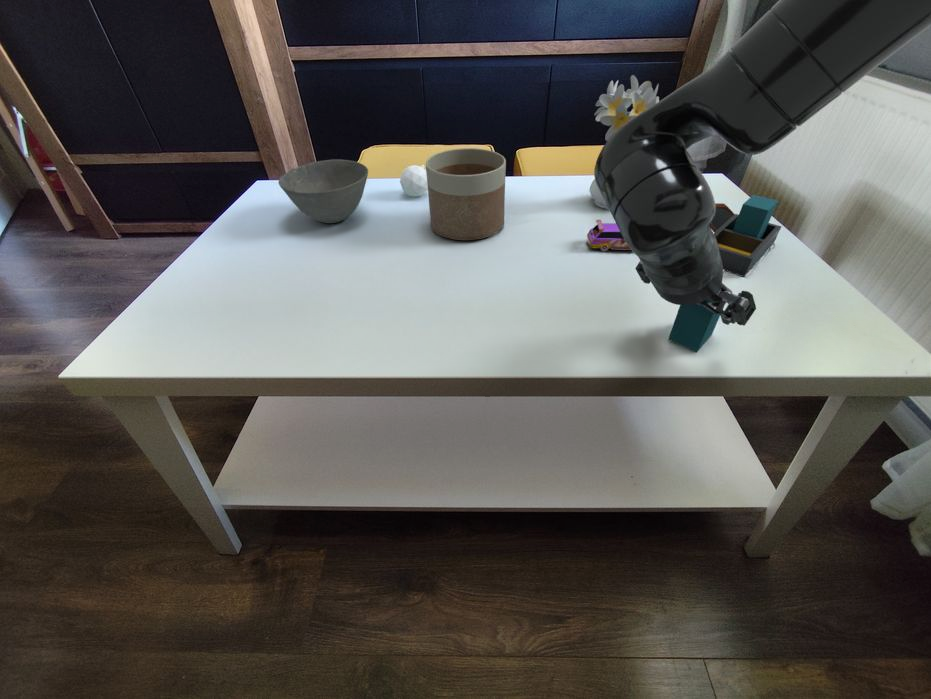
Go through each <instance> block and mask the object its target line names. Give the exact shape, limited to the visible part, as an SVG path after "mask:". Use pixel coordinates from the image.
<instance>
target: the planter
mask: <svg viewBox="0 0 931 699" xmlns="http://www.w3.org/2000/svg"><path fill="white" fill-rule="evenodd" d="M506 170H507V160H506V158H505V157H504V155H502V154H500V153H499V152H497V151H494V150H490V149H484V148H476V147H475V148H473V147H461V148H452V149H447V150H442V151H439V152H437V153H435V154H433V155H431V156H429V157H428V158H427V160H426V161H425V171H426V173H427V185H428V190H427V193H428V194H427V195H428V208H429V220H430V221H429V222H430V227H431V229H432V230H433V232H435V233H436V234H437V235H439V236H441V237H443V238H447V239H450V240H455V241H457V240H458V241H475V240H481V239H485V238H489V237H491V236H493V235H495V234H497V233H499V231H501V229H502V228H503V227H504V224H505V203H506V202H505V201H506V198H505V197H506Z"/></svg>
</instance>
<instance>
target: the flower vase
mask: <svg viewBox="0 0 931 699" xmlns="http://www.w3.org/2000/svg"><path fill="white" fill-rule="evenodd" d="M618 84H619V80H617V81H616V82H615V83H614V81H613V80H611V81H610V82H609V83H608V86H607V90H606V93H602V94H600V96H599V97H598V98H599V99H598V100H597V101H596V103H595V107H599V108H597V110H596V111H595V112H594V113H593V116H595V121H596V122H600V123H601V124H602V125H604V126H608V127H609V129H608V130H607V131H606V133H605V135H604V136H605V138H604V139H605V141H606V142H607V141H608V139H609V138H610V137H611V136H612V135H613V134H614V133H615V132H616V131H617V130H618V129H619V128H620V127H621V126H623V125H624V124H625V123H627V122H628V121H630V120H631V119H633V118H634V117H636V116H637V115H639V114H640V113H642V112H644V111H645V110H647V109H648V108H650V107H651V106H653V105H654V104H656V103H658V102H659V101H660V97H659V96H658V95H657V93H658V90H659V83H657V85H656V87H655V89H654V88H653V86H652V85H653V84H652V82H651V81H650V80H646V81H644V82H642V84H641V85H639V81H638V78H637V77H636V76H635V75H633V74H632V75H631V76H630V88H628V89H626V91H625V86H624V84H622V83H621V84H619V85H618ZM630 106H632V109H631V111H628V108H630ZM588 190H589V193H590V196H591V197H592V199H593V200H594V204H595V206H596V207H599V208H600V209H604V210H605V209H606V210H609V208H608V206H607V204H606V202H605V201H604V198H603V197H602V195H601V193H600V191H599V189H598V187H597V184H596V181H595V178H594V179H593V180H592V181H591V184H590V186H589V189H588Z"/></svg>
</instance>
